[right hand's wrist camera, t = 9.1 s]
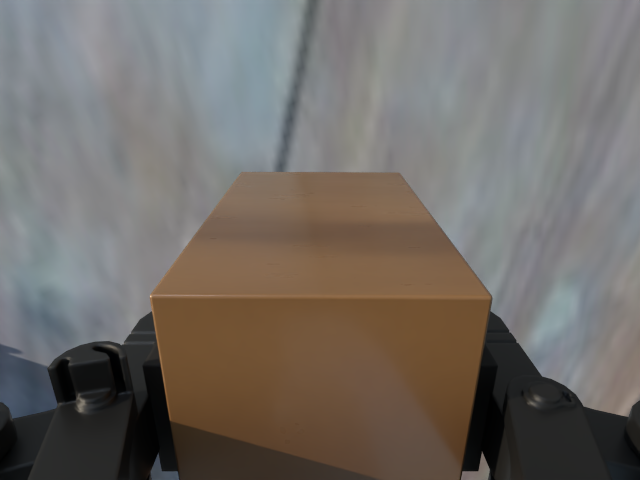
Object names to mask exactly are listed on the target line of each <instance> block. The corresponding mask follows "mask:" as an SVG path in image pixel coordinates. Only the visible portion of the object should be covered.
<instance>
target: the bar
mask: <svg viewBox="0 0 640 480" xmlns="http://www.w3.org/2000/svg"><path fill="white" fill-rule="evenodd" d="M150 301H151V307H152V314H153V320H154V326H155V332H156V338H157V344H158V351H159V357H160V363H161V369H162V375H163V382H164V388H165V394H166V400H167V406H168V412H169V419H170V425H171V431H172V437H173V443H174V450H175V456H176V462H177V468H178V474H179V480H461V476H462V470H463V464H464V459H465V453H466V447H467V441H468V436H469V430H470V424H471V419H472V413H473V407H474V401H475V396H476V390H477V384H478V378H479V373H480V367H481V361H482V356H483V350H484V344H485V338H486V333H487V327H488V321H489V315H490V310H491V304H492V295H491V294H490V293H489V291H488V290H487V289H486V287H485V286H484V285H483V283H482V282H481V281H480V279H479V278H478V277H477V275H476V274H475V273H474V271H473V270H472V269H471V267H470V266H469V265H468V263H467V262H466V261H465V259H464V258H463V257H462V255H461V254H460V253H459V251H458V250H457V249H456V247H455V246H454V245H453V243H452V242H451V241H450V239H449V238H448V237H447V235H446V234H445V233H444V231H443V230H442V229H441V227H440V226H439V225H438V223H437V222H436V221H435V219H434V218H433V217H432V215H431V214H430V213H429V211H428V210H427V209H426V207H425V206H424V205H423V203H422V202H421V201H420V199H419V198H418V197H417V195H416V194H415V193H414V191H413V190H412V189H411V187H410V186H409V185H408V183H407V182H406V181H405V179H404V178H403V177H402V175H401V174H400V173H348V172H241V174H240V175H239V176H238V178H237V179H236V180H235V182H234V183H233V184H232V186H231V187H230V188H229V190H228V191H227V192H226V194H225V195H224V196H223V198H222V199H221V200H220V202H219V203H218V204H217V206H216V207H215V208H214V210H213V211H212V213H211V214H210V215H209V217H208V218H207V219H206V221H205V222H204V223H203V225H202V226H201V227H200V229H199V230H198V231H197V233H196V234H195V235H194V237H193V238H192V239H191V241H190V242H189V243H188V245H187V246H186V247H185V249H184V250H183V251H182V253H181V254H180V256H179V257H178V258H177V260H176V261H175V262H174V264H173V265H172V266H171V268H170V269H169V270H168V272H167V273H166V274H165V276H164V277H163V278H162V280H161V281H160V282H159V284H158V285H157V286H156V288H155V289H154V290H153V292H152V293H151V295H150Z"/></svg>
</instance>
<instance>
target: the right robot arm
mask: <svg viewBox="0 0 640 480" xmlns="http://www.w3.org/2000/svg"><path fill="white" fill-rule="evenodd" d="M47 369H48V372H49V376H50V379H51V383H52V386H53V390H54V393H55V396H56V400H57V403H58V405H57V408H56V409H53V410H49V411H46V412H41V413H37V414H32V415H28V416H23V417H19V418H14V419H12V416H11V413H10V410H9V408H8V407H7V406H6V405H4V404H3V403H1V402H0V480H152V478H151V473H150V471H151V469H152V467H153V464H154V462H155V459H156V457H157V455H158V452H159V458H160V463H161V468H162V471H178V468H177V462H176V456H175V450H174V443H173V437H172V431H171V425H170V419H169V412H168V406H167V400H166V394H165V388H164V382H163V375H162V369H161V363H160V357H159V351H158V344H157V338H156V332H155V326H154V320H153V314H152V312H150V313H149V314H147V315H146V316H144V317H143V318H142V319H140V320H139V322H138V323H137V325H136V326H135V327H134V329H133V330H132V332H131V334H130V335H129V336H128V337H127V339H126V340H125V342H124V345H122V346H121V345H120V344H118V343H114V342H110V341H102V342H92V343H88V344H84V345H80V346H78V347H75V348H73V349H71V350H68V351H66V352H65V353H63V354H62V355H60V356H59V357H57V358H56V359H55V360H54V361H53V362H52V363H51V365H50V366H49V367H48V368H47ZM482 452H483V454H484V457H485V459H486V461H487V464H488V466H489V468H490V473H489V478H488V480H640V401H638V402H637V403H636V404H634V405H633V406H632V409H631V412H630V414H629V417H625V416H621V415H616V414H612V413H607V412H603V411H598V410H594V409H590V408H587V407H583V405H582V403H581V402H580V400H579V399H578V397H577V396H576V394H574V393H573V392H572V391H571V390H569V389H568V388H567V387H566V386H564V385H562V384H560V383H558V382H556V381H554V380H552V379H549V378H545V377H542V376H541V374H540V373H539V372H538V370H537V369H536V367H535V366H534V365H533V363H532V362H531V360H530V359H529V357H528V356H527V355H526V353H525V352H524V350H523V349H522V348H521V346H520V345H519V343H516V339H515V338H514V336H513V335H512V334H511V333H509V329H508V328H507V327H506V325H505V324H504V322H503V321H502V320H501V318H499V317H498V316H497V315H495V314H494V313H492V312H491V311H490V315H489V321H488V327H487V333H486V338H485V344H484V350H483V356H482V361H481V367H480V373H479V378H478V384H477V390H476V396H475V401H474V407H473V413H472V419H471V424H470V430H469V436H468V441H467V447H466V453H465V459H464V464H463V470H462V471H478V470H479V464H480V459H481V454H482Z"/></svg>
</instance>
